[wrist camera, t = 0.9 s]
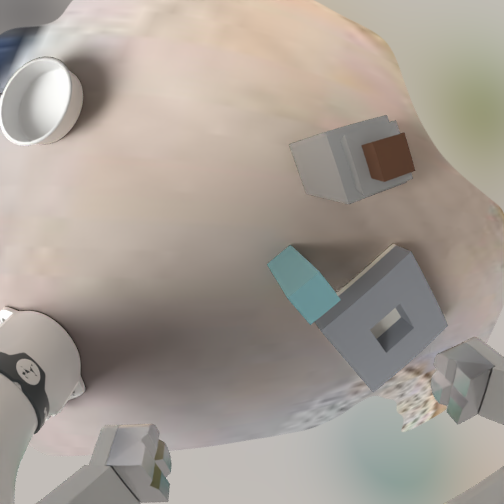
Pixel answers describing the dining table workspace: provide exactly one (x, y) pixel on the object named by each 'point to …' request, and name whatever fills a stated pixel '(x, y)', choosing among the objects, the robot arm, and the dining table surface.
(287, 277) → the peg
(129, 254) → the dining table surface
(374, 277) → the socket block
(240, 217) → the dining table surface
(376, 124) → the perfume bottle
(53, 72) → the saucepan
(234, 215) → the dining table surface
